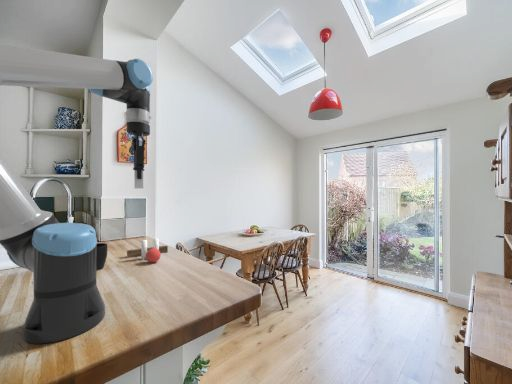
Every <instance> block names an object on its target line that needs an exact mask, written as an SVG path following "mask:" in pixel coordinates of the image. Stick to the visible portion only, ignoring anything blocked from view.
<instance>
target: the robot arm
mask: <svg viewBox="0 0 512 384" xmlns="http://www.w3.org/2000/svg"><path fill="white" fill-rule="evenodd" d="M153 80H154V77H153V72H152V69H151V67H150V66H149V65H148V63H147V62H145V61H144V60H143V59H140V58H134V59H129V60H128V61H121V60H113V59H107V58H99V57H98V58H97V57H93V56H86V55H85V56H84V55H79V54H72V53H65V52H59V51H58V52H57V51H52V50H46V49H45V50H44V49H38V48H30V47H23V46H17V45H11V44H3V43H0V86H7V87H9V86H11V87H13V86H14V87H34V88H35V87H36V88H37V87H38V88H39V87H40V88H61V89H62V88H64V89H66V88H68V89H87V90H88V91H89V92H90V93H92V94H94V95H97V96H100V97H101V98H102V97H103V98H106V99H110V100H113V101H117V102H119V103H123V104H125V105H126V112H125V113H126V122H127V123H126V133H127V134H129V135H131V136H134V137H133V138H132V139H131V140H132V141H131V144H132V151H133V168H132V170H134V171H133V172H134V175H133V176H134V180H133V181H134V189H144V171H145V169H144V168H145V150H146V149H145V144H146V139H144V137H148V136H150V134H151V126H150V123H151V121H150V120H152V116H151V115H150V112H151V109H150V106H151V104H150V102H151V99H150V98H151V91H150V86H151V84H152V82H153ZM97 243H98V239H97V233H96V230H95V228H94V227H93V226H92V225H89V224H86V223H81V222H80V223H76V222H59V220H58V219H57V218H56V217H55V215H54V214H53V213H52V212H51V211H46V210H43V209H40V207H39V206H38V204H37V203H36V202H35V200H34V199H33V198H32V197H31V194H29V193H28V191H27V190H26V188H25V187H24V186H23V185H22V183H21V182H20V180H18V178H17V176H15V174H14V173H13V171H12V170H11V169H10V168H9V166H8V165H7V164H6V162H5V160H4V159H3V158H2V157H1V156H0V245H1V246H2V248H3V249H4V250H5V251H6V254H7V256H8V258H9V260H10V261H11V262H12V263H13V264H14V265H16V266H18V267H19V268H23V269H26V270H28V271H30V272H32V273H33V278H32V279H33V300H32V303H31V305H30V308H29V310H28V313H27V315H26V317H25V321H24V322H23V325H22V338H23V340H24V341H25V342H27V343H29V344H30V343H31V344H36V345H37V344H49V343H50V344H51V343H54V342H59V341H63V340H66V339H69V338H73V337H75V336H78V335H81V334H83V333H85V332H86V331H89V330H91V329H93V328H94V327H95V326H97V325H98V324H99V323H101V321H103V319H104V318H105V316H106V305H105V302H104V300H103V298H102V295H101V293H100V291H99V288H98V285H97V284H98V283H97V271H96V245H97Z"/></svg>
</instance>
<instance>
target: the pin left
mask: <svg viewBox="0 0 512 384" xmlns="http://www.w3.org/2000/svg"><path fill="white" fill-rule="evenodd" d="M140 242H141V247H140V249H141V252H142V256H141V260H142V261H143V260H144V261H145V260H147V259H146V253H147V248H148V240H147V239H142V240H141V241H140Z"/></svg>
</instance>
